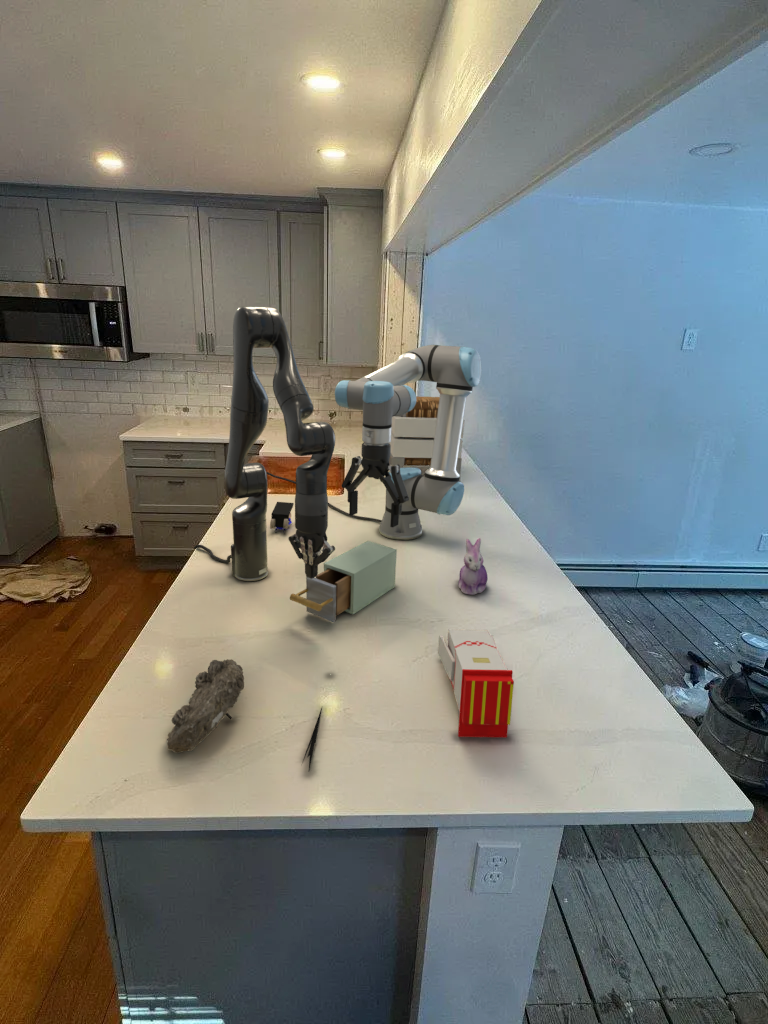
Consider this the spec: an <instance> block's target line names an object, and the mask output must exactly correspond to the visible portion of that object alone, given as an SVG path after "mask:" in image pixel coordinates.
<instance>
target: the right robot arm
mask: <svg viewBox="0 0 768 1024" xmlns="http://www.w3.org/2000/svg"><path fill="white" fill-rule="evenodd" d="M482 370H483V368H482V359H481V355H480V354H479V352H478V350H477V349H475V348H473V347H467V346H459V345H458V346H455V345H441V344H440V345H439V344H428V345H427V344H426V345H422V346H419V347H416V348H414V349H411V350H408V351H406V352H404V353H402V354H401V355H400V356H398V358H397V360H395V361H393V362H391V363H389V364H387V365H385V366H383V367H381V368H379V369H377V370H374V371H372V372H371V373H368V374H367V375H365V376H362V377H360V378H359V379H356V380H350V379H347V380H345V379H343V380H339V382H338V383H337V384H336V386H335V389H334V400H335V402H336V404H337V406H339V407H340V408H347V409H348V410H357V411H358V410H359V411H362V425H361V426H362V427H361V428H362V429H361V431H362V432H361V441H362V443H361V456H360V455H358V456H354V457H351V465H350V466H349V468H348V471H347V473H346V475H345V477H344V479H343V481H342V483H341V488H342V489H345V490H346V491H347V502H348V503H349V508H348V509H349V511H348V512H346V511H344V510H343V509H341V508H338V507H336V506H334V505H333V504H331V503H330V502H328V507H330V508H332V509H333V510H335V511H337V512H339V513H340V514H343V515H346V516H347V517H350V518H354V519H360V520H365V521H372V522H375V523H376V522H377V523H379V526H378V533H379V534H380V535H381V536H382V537H385V538H387V539H389V540H395V541H410V540H415V539H418V538H420V537H421V536H422V535H423V525H422V524H421V518H420V515H419V510H421V511H426V512H429V513H433V514H434V513H435V514H437V515H443V516H451V515H453V514H454V513H456V512H457V510H458V509H459V508H460V506H461V503H462V502H463V501H462V500H463V497H464V494H465V485H464V483H463V482H461V481H460V482H459V478H460V479H461V474H460V475H459V474H458V473H457V471H456V467H457V460H458V453H459V446H460V439H461V440H462V438H461V432H462V425H463V419H464V417H465V411H466V404H467V397H468V396H470V394H472V393H473V388H475V387H477V386H478V385H479V384H480V382H481V379H482V372H483V371H482ZM418 381H419V382H422V381H423V382H432V383H436V386H435V389H436V390H437V392H438V393H439V397H440V398H439V405H438V413H437V420H436V428H435V435H434V443H433V450H432V458H431V465H430V466H429V468H427V469H426V470H424V474H422V470H421V468H419V467H414V466H411V467H409V466H406V467H404V468H400V465H399V464H397V465H390V463H389V459H390V452H391V445H390V444H389V443H390V442H391V431H392V417H393V416H397V415H401V414H405V413H407V412H409V411H411V410H412V409H413V408H414V406H415V404H416V397H417V394H416V392H415V390H414V389H413V388H412V387H411V386H409V385H406V384H413V383H416V382H418ZM360 466H361V467H362V470H361V471H360V472H359V473H358V471H359V469H360ZM357 473H358V475H357V476H356V474H357ZM266 474H267V476H270V477H271V478H272V477H273V478H275V479H278V480H283V481H286V482H289V483H292V484H295V485H296V480H292V479H289V478H286V477H282V476H278V475H276V474H273V473H270V472H268V471H266ZM366 478H371V479H372V478H373V479H374V480H379V481H380V482H381V483H382V484H383V485H384V487H385V504H384V505H385V507H384V508H385V509H384V513H383V515H382V519H379V518H374V517H368V516H360V515H356V514H358V502H359V490H357V488H358V487H359V486H360V485H361V484H362V483H363V482H364V480H365V479H366Z"/></svg>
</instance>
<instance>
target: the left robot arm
mask: <svg viewBox="0 0 768 1024" xmlns="http://www.w3.org/2000/svg"><path fill="white" fill-rule="evenodd" d="M232 321H233V322H232V349H233V351H232V352H233V353H232V355H233V373H232V374H233V375H232V387H231V389H232V390H231V398H230V399H231V400H230V414H229V438H228V447H227V454H226V461H225V466H224V477H223V484H224V490H225V493H226V496H227V497H229V498H230V499H233V500H239V499H245V501H244V502H243V503H241V504H239V505H238V506H236V507H234V508H233V510H232V512H231V519H232V520H231V521H232V536H233V538H232V539H233V540H232V541H233V544H231V545H230V554H229V555H227V556H226V559H223V558H220V557H218V556H217V555H215V554H214V552H213V551H212V550H211V549H210V548H208V547H207V546H205V545H203V544H196V545H195V546H194V547H193V549H195V550H197V549H202V550H204V551H205V552H207V553H208V554H209V556H210V557H211V558H212V559H213V560H215V561H217V562H220V563H223V564H230V563H231V576H232V577H235V578H236V579H237V580H238V581H242V582H257V581H260V580H263V579H265V578H266V577H267V576H268V575H269V569H268V540H267V539H268V538H267V536H268V535H267V511H268V489H269V488H268V487H269V486H268V485H269V484H268V474H266V472H267V471H266V468H265V466H264V465H263V464H262V463H261V462H248V463H245V462H246V458H247V456H248V454H249V451H250V450H251V448H252V447H253V446H254V445H255V444H256V442H257V440H258V439H259V438H260V436H261V435H262V433H263V432H264V430H265V428H266V426H267V423H268V422H267V421H268V415H269V401H270V400H269V395H268V393H267V392H266V389H265V387H264V385H263V384H262V382H261V380H260V379H259V376H257V375H258V374H257V372H256V371H255V368H254V363H253V351H254V349H266V348H268V349H270V348H271V349H272V351H273V352H274V354H275V357H276V366H275V370H274V373H273V378H272V391H273V394H274V398H275V399H276V401H277V404H278V406H279V408H280V410H281V413H282V416H283V422H284V427H285V436H286V444H287V446H288V449H289V450H290V451H291V452H292V453H293V454H294V455H295V456H297V457H306V456H311V457H310V459H309V460H307V461H306V462H304V463H302V464H299V465H298V466H297V467H296V469H295V482H296V484H295V496H294V528H295V529H296V530H295V534H292V535H290V536H288V541H289V543H290V545H291V547H292V548H293V550H294V552H295V554H296V556H297V558H298V559H299V560H303V563H304V573H305V578H306V577H308V578H310V579H312V578H316V576H317V575H318V574H319V565H320V564H322V563H325V562H326V561H327V560H328V558H329V557H330V556H331V555H332V554H333V553H334V551H335V550H336V547H335V545H331V544H330V543H329V542H328V535H327V531H328V526H329V506H328V503H329V499H328V473H329V468H330V465H331V462H332V458H333V453H334V451H335V447H336V433H335V430H334V428H333V426H332V425H331V424H330V423H329V422H326V421H312V422H303V421H305V420H307V419H308V418H310V417H311V416H312V415H313V413H314V403H313V402H312V399H311V397H310V395H309V393H308V390H307V389H306V386H305V383H304V382H303V379H302V378H301V374H300V372H299V368H298V365H297V361H296V358H295V355H294V354H295V353H294V350H293V347H292V343H291V339H290V336H289V332H288V329H287V325H286V323H285V320H284V318H283V315H282V314H281V312H280V311H279V310H278V309H277V308H275V307H271V306H247V305H246V306H239V307H238V308H237V309H236V310H235V312H234V316H233V320H232ZM246 498H247V499H246Z"/></svg>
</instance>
